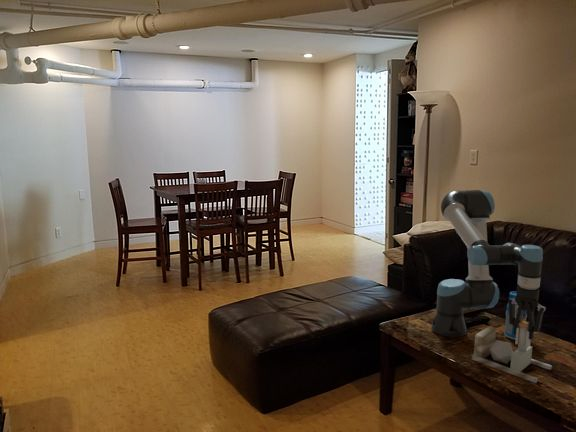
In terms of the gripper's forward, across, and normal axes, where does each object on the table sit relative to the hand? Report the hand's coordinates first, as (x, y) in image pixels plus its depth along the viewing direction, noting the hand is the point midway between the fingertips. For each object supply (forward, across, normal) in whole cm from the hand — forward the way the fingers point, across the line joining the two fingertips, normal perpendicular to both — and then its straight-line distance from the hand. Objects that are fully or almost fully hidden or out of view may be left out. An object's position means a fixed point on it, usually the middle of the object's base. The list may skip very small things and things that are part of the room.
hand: (522, 344), depth 181 cm
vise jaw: (+9, 0, 0) cm, 9 cm away
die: (+10, -8, 0) cm, 12 cm away
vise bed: (+10, -4, 0) cm, 10 cm away
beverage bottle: (+10, -14, +27) cm, 32 cm away
